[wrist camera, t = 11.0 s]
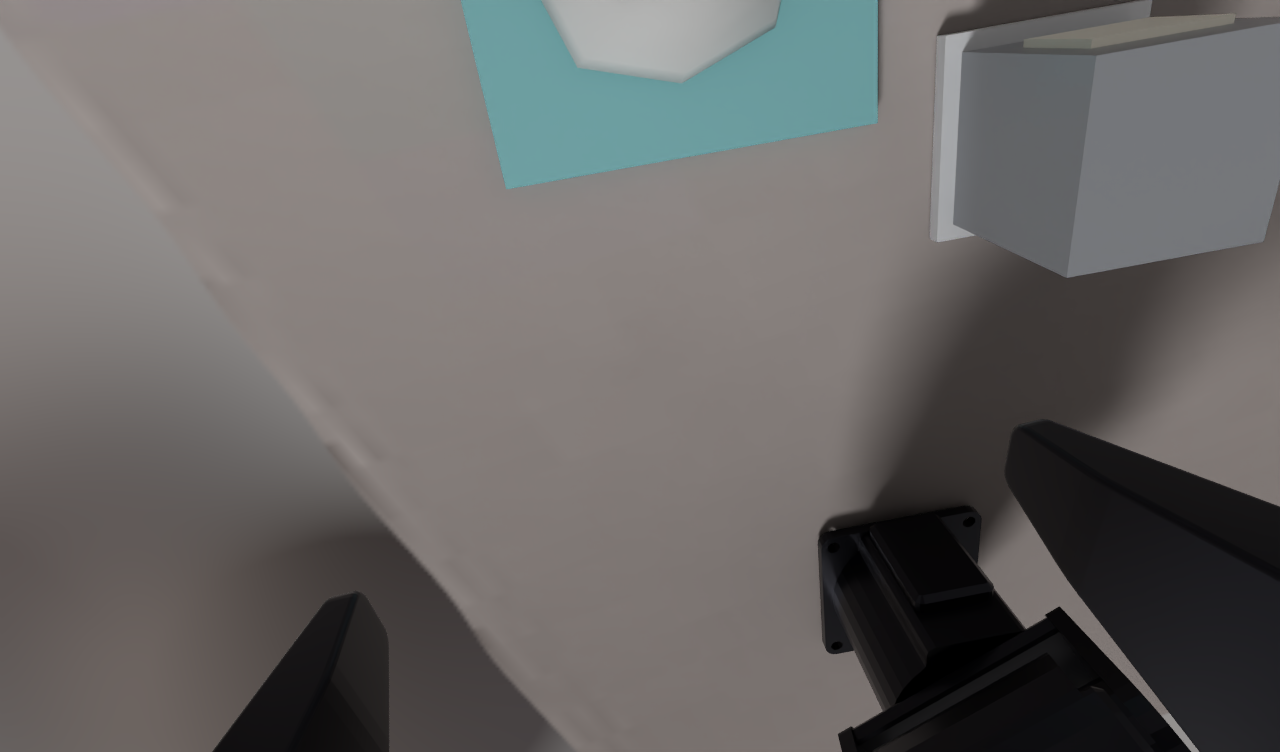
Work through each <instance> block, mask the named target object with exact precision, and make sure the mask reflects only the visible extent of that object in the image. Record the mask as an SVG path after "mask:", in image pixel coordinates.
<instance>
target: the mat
mask: <svg viewBox="0 0 1280 752" xmlns="http://www.w3.org/2000/svg"><path fill="white" fill-rule="evenodd" d="M461 3H462V7H463V12H464V16H465V20H466V24H467V28H468V32H469V36H470V41H471V45H472V49H473V53H474V57H475V61H476V66H477V70H478V74H479V78H480V82H481V86H482V90H483V95H484V99H485V103H486V107H487V111H488V115H489V120H490V124H491V128H492V132H493V136H494V140H495V144H496V149H497V153H498V157H499V161H500V165H501V169H502V173H503V178H504V182H505V186H506V189H511V188H516V187H522V186H528V185H533V184H539V183H544V182H550V181H556V180H561V179H567V178H572V177H578V176H584V175H589V174H595V173H600V172H606V171H612V170H617V169H623V168H628V167H634V166H640V165H645V164H651V163H656V162H662V161H668V160H673V159H679V158H684V157H690V156H696V155H701V154H707V153H712V152H718V151H724V150H729V149H735V148H740V147H746V146H752V145H757V144H763V143H768V142H774V141H780V140H785V139H791V138H796V137H802V136H808V135H813V134H819V133H824V132H830V131H836V130H841V129H847V128H852V127H858V126H864V125H869V124H875V123H878V0H781V3H780V8H779V13H778V18H777V23H776V27H775V28H774V29H772V30H770V31H769V32H767V33H765V34H764V35H762V36H760V37H759V38H757V39H755V40H754V41H752V42H750V43H749V44H747V45H745V46H743V47H742V48H740V49H738V50H737V51H735V52H733V53H732V54H730V55H728V56H727V57H725V58H723V59H722V60H720V61H718V62H717V63H715V64H713V65H712V66H710V67H708V68H707V69H705V70H703V71H702V72H700V73H698V74H697V75H695V76H693V77H692V78H690V79H688V80H687V81H685V82H683V83H675V82H668V81H662V80H655V79H649V78H642V77H635V76H629V75H622V74H615V73H609V72H602V71H596V70H589V69H582V68H577V66H576V64H575V62H574V60H573V58H572V57H571V55H570V53H569V51H568V49H567V47H566V46H565V44H564V42H563V40H562V38H561V36H560V34H559V33H558V31H557V29H556V27H555V25H554V23H553V21H552V20H551V18H550V16H549V14H548V12H547V10H546V9H545V7H544V5H543V3H542V1H541V0H461Z"/></svg>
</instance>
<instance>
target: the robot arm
mask: <svg viewBox="0 0 1280 752" xmlns="http://www.w3.org/2000/svg"><path fill="white" fill-rule="evenodd" d="M1004 471H1005V478H1006V481H1007V484H1008V486H1009V488H1010V489H1011V491H1012V493H1013V494H1014V496H1015V497H1016V499H1017V501H1018V502H1019V504H1020V505H1021V507H1022V509H1023V510H1024V512H1025V513H1026V515H1027V517H1028V518H1029V520H1030V522H1031V523H1032V525H1033V526H1034V528H1035V530H1036V531H1037V533H1038V534H1039V536H1040V538H1041V539H1042V541H1043V543H1044V544H1045V546H1046V547H1047V549H1048V551H1049V552H1050V554H1051V555H1052V557H1053V559H1054V560H1055V562H1056V563H1057V565H1058V566H1059V568H1060V569H1061V571H1062V573H1063V574H1064V576H1065V577H1066V579H1067V580H1068V581H1069V583H1070V584H1071V585H1072V587H1073V588H1074V589H1075V591H1076V592H1077V594H1078V595H1079V596H1080V597H1081V599H1082V600H1083V601H1084V603H1085V604H1086V605H1087V607H1088V608H1089V609H1090V610H1091V612H1092V613H1093V614H1094V616H1095V617H1096V618H1097V620H1098V621H1099V622H1100V623H1101V625H1102V626H1103V627H1104V629H1105V630H1106V631H1107V632H1108V634H1109V635H1110V636H1111V638H1112V639H1113V640H1114V642H1115V643H1116V644H1117V645H1118V647H1119V648H1120V649H1121V651H1122V652H1123V653H1124V654H1125V656H1126V657H1127V658H1128V660H1129V661H1130V662H1131V664H1132V665H1133V666H1134V667H1135V669H1136V670H1137V671H1138V673H1139V674H1140V675H1141V677H1142V678H1143V679H1144V680H1145V682H1146V683H1147V684H1148V686H1149V687H1150V688H1151V689H1152V691H1153V692H1154V693H1155V695H1156V696H1157V697H1158V699H1159V700H1160V701H1161V702H1162V704H1163V705H1164V706H1165V708H1166V709H1167V710H1168V712H1169V713H1170V714H1171V715H1172V717H1173V718H1174V719H1175V721H1176V722H1177V723H1178V724H1179V726H1180V727H1181V728H1182V730H1183V731H1184V732H1185V733H1186V735H1187V736H1188V737H1189V739H1190V740H1191V741H1192V743H1193V744H1194V745H1195V747H1196V748H1197V749H1198V750H1199V752H1280V507H1279V506H1277V505H1274V504H1271V503H1269V502H1266V501H1263V500H1261V499H1258V498H1255V497H1253V496H1250V495H1247V494H1245V493H1242V492H1239V491H1237V490H1234V489H1231V488H1229V487H1226V486H1223V485H1221V484H1218V483H1215V482H1213V481H1210V480H1207V479H1205V478H1202V477H1199V476H1197V475H1194V474H1191V473H1189V472H1186V471H1183V470H1181V469H1178V468H1176V467H1173V466H1170V465H1168V464H1165V463H1162V462H1160V461H1157V460H1154V459H1152V458H1149V457H1146V456H1144V455H1141V454H1138V453H1136V452H1133V451H1130V450H1128V449H1125V448H1122V447H1120V446H1117V445H1114V444H1112V443H1109V442H1106V441H1104V440H1101V439H1098V438H1096V437H1093V436H1090V435H1088V434H1085V433H1082V432H1080V431H1077V430H1074V429H1072V428H1069V427H1066V426H1064V425H1061V424H1058V423H1056V422H1053V421H1050V420H1045V419H1041V420H1036V421H1032V422H1028V423H1024V424H1020V425H1018V426H1016V427H1015V428H1014V429H1013V431H1012V433H1011V437H1010V442H1009V447H1008V452H1007V457H1006V463H1005V469H1004ZM968 517H969V518H968ZM966 518H968V519H967V520H965V519H966ZM980 529H981V516H980V515H979V513H978V512H977V511H976V510H975V509H974V508H973V507H971V506H961V507H956V508H951V509H945V510H940V511H935V512H930V513H924V514H919V515H914V516H908V517H903V518H898V519H893V520H887V521H882V522H877V523H872V524H866V525H861V526H856V527H850V528H845V529H840V530H835V531H830V532H827V533H824V534H823V535H822V536H821V537H820V538H819V540H818V557H819V578H820V599H821V619H822V640H823V643H824V646H825V648H826V650H827V652H829V653H831V654H839V653H844V652H849V651H855V653H856V655H857V657H858V660H859V662H860V664H861V666H862V668H863V670H864V672H865V674H866V676H867V679H868V681H869V683H870V685H871V687H872V689H873V691H874V693H875V695H876V698H877V700H878V702H879V704H880V706H881V708H882V710H883V712H881V713H879V714H878V715H876V716H874V717H872V718H871V719H869V720H867V721H866V722H864V723H862V724H860V725H859V726H857V727H855V728H853V727H849V728H848V729H846V730H844V731H842V732H841V733H839V734H838V736H839V741H840V745H841V749H842V752H1191V751H1190V750H1189V749H1188V747H1187V746H1186V745H1185V744H1184V743H1183V741H1182V740H1181V739H1180V738H1179V736H1178V735H1177V734H1176V733H1175V732H1174V730H1173V729H1172V728H1171V727H1170V726H1169V724H1168V723H1167V722H1166V721H1165V720H1164V719H1163V717H1162V716H1161V715H1160V714H1159V713H1158V712H1157V710H1156V709H1155V708H1154V707H1153V706H1152V705H1151V703H1150V702H1149V701H1148V700H1147V699H1146V698H1145V697H1144V696H1143V694H1142V693H1141V692H1140V691H1139V690H1138V689H1137V688H1136V687H1135V686H1134V685H1133V684H1132V682H1131V681H1130V680H1129V679H1128V678H1127V677H1126V676H1125V675H1124V674H1123V673H1122V672H1121V671H1120V670H1119V669H1118V668H1117V667H1116V666H1115V664H1114V663H1113V662H1112V661H1111V660H1110V659H1109V658H1108V657H1107V656H1106V655H1105V654H1104V653H1103V652H1102V651H1101V650H1100V649H1099V648H1098V646H1097V645H1096V644H1095V643H1094V642H1093V641H1092V640H1091V639H1090V638H1089V637H1088V636H1087V635H1086V634H1085V633H1084V632H1083V631H1082V630H1081V629H1080V627H1079V626H1078V625H1077V624H1076V623H1075V622H1074V621H1073V620H1072V619H1071V618H1070V617H1069V616H1068V615H1067V614H1066V613H1065V612H1064V611H1063V610H1062V608H1061V607H1060V606H1059V607H1058V608H1056V609H1054V610H1052V611H1051V612H1049V613H1047V614H1046V615H1045V616H1046V618H1045V619H1043V620H1041V621H1040V622H1038V623H1036V624H1034V625H1033V626H1031V627H1029V628H1027V629H1026V628H1025V627H1024V626H1023V625H1022V623H1021V622H1020V621H1019V620H1018V618H1017V617H1016V616H1015V614H1014V613H1013V612H1012V611H1011V609H1010V608H1009V607H1008V605H1007V604H1006V603H1005V602H1004V600H1003V599H1002V598H1001V597H1000V595H999V594H998V593H997V591H996V590H995V589H994V586H993V584H992V582H991V581H990V580H989V579H988V577H987V576H986V575H985V574H984V572H983V571H982V570H981V568H980V567H979V566H978V565H977V563H978V552H979V541H980ZM831 543H835V544H834V545H832V546H829V545H830V544H831ZM212 752H389V642H388V636H387V632H386V629H385V627H384V625H383V623H382V622H381V620H380V619H379V617H378V615H377V614H376V612H375V610H374V608H373V607H372V605H371V603H370V602H369V600H368V598H367V597H366V595H365V594H364V593H362V592H361V591H353V592H349V593H345V594H341V595H338V596H333V597H331V598H329V599H328V600H326V601H325V603H324V604H323V605H322V606H321V608H320V609H319V610H318V612H317V613H316V614H315V615H314V617H313V618H312V619H311V621H310V622H309V624H308V625H307V626H306V627H305V629H304V630H303V631H302V633H301V634H300V636H299V637H298V638H297V639H296V641H295V642H294V644H293V645H292V646H291V647H290V649H289V650H288V651H287V653H286V654H285V655H284V657H283V658H282V659H281V661H280V662H279V663H278V665H277V666H276V667H275V669H274V670H273V671H272V673H271V674H270V675H269V677H268V678H267V680H266V681H265V682H264V683H263V685H262V686H261V687H260V689H259V690H258V691H257V693H256V694H255V695H254V697H253V698H252V699H251V701H250V702H249V703H248V705H247V706H246V707H245V709H244V710H243V711H242V713H241V714H240V715H239V717H238V718H237V719H236V721H235V722H234V723H233V725H232V726H231V727H230V729H229V730H228V731H227V733H226V734H225V735H224V736H223V738H222V739H221V740H220V742H219V743H218V745H217V746H216V747H215V749H214V750H213V751H212Z"/></svg>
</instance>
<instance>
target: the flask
mask: <svg viewBox="0 0 1280 752" xmlns="http://www.w3.org/2000/svg"><path fill="white" fill-rule="evenodd" d="M541 1H542V3H543V5H544V7H545V9H546V10H547V12H548V14H549V16H550V18H551V20H552V21H553V23H554V25H555V27H556V29H557V31H558V33H559V34H560V36H561V38H562V40H563V42H564V44H565V46H566V47H567V49H568V51H569V53H570V55H571V57H572V58H573V60H574V62H575V64H576V66H577V68H582V69H589V70H596V71H602V72H609V73H615V74H622V75H629V76H635V77H642V78H649V79H655V80H662V81H668V82H675V83H683V82H685V81H687V80H688V79H690V78H692V77H693V76H695V75H697V74H698V73H700V72H702V71H703V70H705V69H707V68H708V67H710V66H712V65H713V64H715V63H717V62H718V61H720V60H722V59H723V58H725V57H727V56H728V55H730V54H732V53H733V52H735V51H737V50H738V49H740V48H742V47H743V46H745V45H747V44H749V43H750V42H752V41H754V40H755V39H757V38H759V37H760V36H762V35H764V34H765V33H767V32H769V31H770V30H772V29H774V28H775V27H776V23H777V18H778V13H779V8H780V3H781V0H541Z"/></svg>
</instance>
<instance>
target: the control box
mask: <svg viewBox="0 0 1280 752" xmlns="http://www.w3.org/2000/svg"><path fill="white" fill-rule="evenodd" d="M1151 6H1152V0H1138V1H1132V2H1126V3H1121V4H1115V5H1109V6H1104V7H1098V8H1092V9H1087V10H1081V11H1075V12H1070V13H1064V14H1058V15H1053V16H1047V17H1041V18H1036V19H1030V20H1024V21H1019V22H1013V23H1007V24H1002V25H996V26H990V27H985V28H979V29H973V30H968V31H962V32H956V33H951V34H945V35H939V36H937V51H936V78H935V105H934V132H933V159H932V186H931V213H930V239H932V240H933V241H935V242H942V241H948V240H953V239H958V238H964V237H969V236H975V235H977V236H979V237H981V238H983V239H985V240H987V241H989V242H992V243H994V244H996V245H998V246H1000V247H1002V248H1004V249H1006V250H1008V251H1011V252H1013V253H1015V254H1017V255H1019V256H1021V257H1023V258H1025V259H1028V260H1030V261H1032V262H1034V263H1036V264H1038V265H1040V266H1042V267H1045V268H1047V269H1049V270H1051V271H1053V272H1055V273H1057V274H1059V275H1062V276H1064V277H1066V278H1069V277H1075V276H1080V275H1086V274H1091V273H1096V272H1102V271H1107V270H1113V269H1118V268H1124V267H1129V266H1134V265H1140V264H1145V263H1151V262H1156V261H1162V260H1167V259H1173V258H1178V257H1183V256H1189V255H1194V254H1200V253H1205V252H1211V251H1216V250H1221V249H1227V248H1232V247H1238V246H1243V245H1249V244H1254V243H1260V242H1264V238H1265V235H1266V231H1267V227H1268V223H1269V220H1270V216H1271V212H1272V208H1273V204H1274V201H1275V197H1276V193H1277V189H1278V185H1279V182H1280V17H1261V18H1235V16H1236V14H1213V15H1189V16H1165V17H1150V12H1151Z"/></svg>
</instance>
